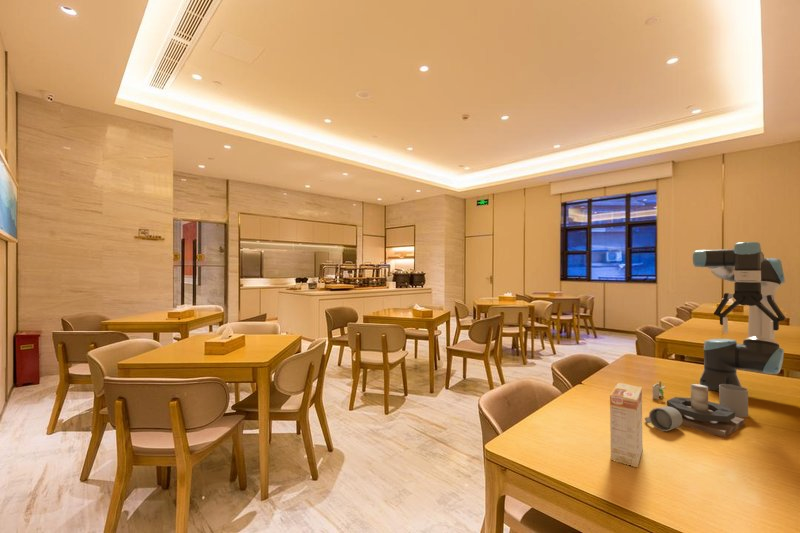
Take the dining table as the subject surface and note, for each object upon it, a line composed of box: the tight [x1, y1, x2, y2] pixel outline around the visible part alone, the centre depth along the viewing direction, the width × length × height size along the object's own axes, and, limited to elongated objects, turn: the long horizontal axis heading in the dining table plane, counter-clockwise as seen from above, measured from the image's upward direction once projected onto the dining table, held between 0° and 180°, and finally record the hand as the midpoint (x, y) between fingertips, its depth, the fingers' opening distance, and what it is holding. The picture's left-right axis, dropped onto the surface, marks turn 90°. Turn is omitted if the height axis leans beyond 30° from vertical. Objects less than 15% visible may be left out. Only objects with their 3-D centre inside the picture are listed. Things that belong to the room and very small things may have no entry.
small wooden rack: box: [652, 380, 666, 400], centre depth 159 cm, size 4×7×8 cm, turn 127°
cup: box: [718, 384, 749, 418], centre depth 142 cm, size 8×8×10 cm
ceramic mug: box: [644, 405, 683, 432], centre depth 130 cm, size 11×8×8 cm
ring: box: [666, 396, 736, 422], centre depth 134 cm, size 18×18×2 cm
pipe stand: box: [680, 383, 746, 439], centre depth 134 cm, size 20×20×13 cm
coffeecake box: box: [609, 382, 644, 468], centre depth 110 cm, size 15×7×20 cm, turn 141°
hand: (748, 336), depth 140 cm, fingers open, 13 cm apart
